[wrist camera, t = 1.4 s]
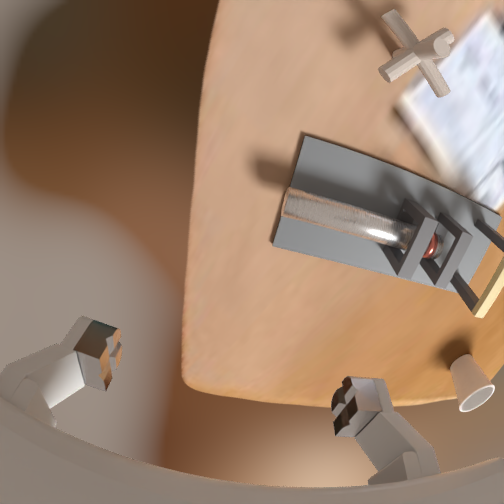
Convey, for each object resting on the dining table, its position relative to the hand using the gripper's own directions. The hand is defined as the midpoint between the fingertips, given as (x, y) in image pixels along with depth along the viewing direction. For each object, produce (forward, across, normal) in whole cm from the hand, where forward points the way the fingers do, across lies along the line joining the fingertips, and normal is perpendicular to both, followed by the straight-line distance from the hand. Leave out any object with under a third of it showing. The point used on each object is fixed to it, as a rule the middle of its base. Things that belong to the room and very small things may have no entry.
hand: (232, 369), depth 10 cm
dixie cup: (+28, -50, +24) cm, 62 cm away
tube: (+26, -13, +1) cm, 29 cm away
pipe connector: (+27, -12, -19) cm, 35 cm away
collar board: (+27, -20, +1) cm, 34 cm away
